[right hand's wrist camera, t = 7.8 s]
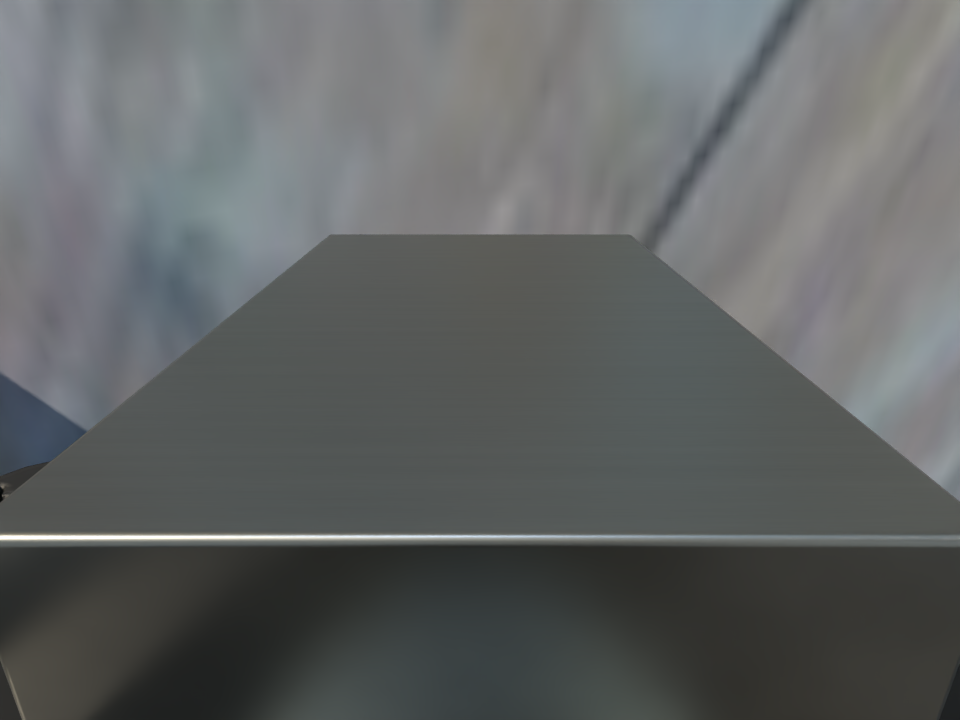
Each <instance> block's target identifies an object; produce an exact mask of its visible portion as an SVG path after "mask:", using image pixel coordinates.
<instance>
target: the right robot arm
mask: <svg viewBox="0 0 960 720" xmlns="http://www.w3.org/2000/svg"><path fill="white" fill-rule="evenodd" d="M50 462H51V461H50ZM48 463H49V462H46V463H41V464H37V465H32V466H28V467H24V468H21V469H19V470H16V471H13V472H11V473H8V474H5V475H3V476H0V502H1V501H3V500H4V499H5V498H6V497H8V496H9V495H10V494H11V493H13V492H14V491H15V490H16V489H17V488H19V487H20V486H21V485H22V484H24V483H25V482H26V481H27V480H29V479H30V478H31V477H32V476H33V475H35V474H36V473H37V472H38V471H40V470H41V469H42V468H43V467H45V466H46V465H47V464H48ZM0 720H22V718H21V716H20V713H19V710H18V708H17V705H16V702H15V699H14V697H13V694H12V691H11V688H10V686H9V683H8V680H7V678H6V675H5V672H4V669H3V667H2V664H1V661H0ZM939 720H960V664H959V667H958V670H957V672H956V675H955V678H954V680H953V683H952V686H951V689H950V691H949V694H948V697H947V699H946V702H945V705H944V708H943V710H942V713H941V716H940V718H939Z"/></svg>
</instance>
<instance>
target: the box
mask: <svg viewBox="0 0 960 720" xmlns="http://www.w3.org/2000/svg"><path fill="white" fill-rule="evenodd" d="M0 661H1V664H2V667H3V669H4V672H5V675H6V678H7V680H8V683H9V686H10V688H11V691H12V694H13V697H14V699H15V702H16V705H17V708H18V710H19V713H20V716H21V718H22V720H939V718H940V716H941V713H942V710H943V708H944V705H945V702H946V699H947V697H948V694H949V691H950V689H951V686H952V683H953V680H954V678H955V675H956V672H957V670H958V667H959V664H960V502H959V501H958V500H957V499H956V498H955V497H953V496H952V495H951V494H950V493H948V492H947V491H946V490H945V489H943V488H942V487H941V486H940V485H938V484H937V483H936V482H935V481H934V480H932V479H931V478H930V477H929V476H927V475H926V474H925V473H924V472H922V471H921V470H920V469H919V468H918V467H916V466H915V465H914V464H913V463H911V462H910V461H909V460H908V459H906V458H905V457H904V456H903V455H901V454H900V453H899V452H898V451H897V450H895V449H894V448H893V447H892V446H890V445H889V444H888V443H887V442H885V441H884V440H883V439H882V438H880V437H879V436H878V435H877V434H876V433H874V432H873V431H872V430H871V429H869V428H868V427H867V426H866V425H864V424H863V423H862V422H861V421H859V420H858V419H857V418H856V417H855V416H853V415H852V414H851V413H850V412H848V411H847V410H846V409H845V408H843V407H842V406H841V405H840V404H839V403H837V402H836V401H835V400H834V399H832V398H831V397H830V396H829V395H827V394H826V393H825V392H824V391H822V390H821V389H820V388H819V387H818V386H816V385H815V384H814V383H813V382H811V381H810V380H809V379H808V378H806V377H805V376H804V375H803V374H801V373H800V372H799V371H798V370H797V369H795V368H794V367H793V366H792V365H790V364H789V363H788V362H787V361H785V360H784V359H783V358H782V357H781V356H779V355H778V354H777V353H776V352H774V351H773V350H772V349H771V348H769V347H768V346H767V345H766V344H764V343H763V342H762V341H761V340H760V339H758V338H757V337H756V336H755V335H753V334H752V333H751V332H750V331H748V330H747V329H746V328H745V327H743V326H742V325H741V324H740V323H739V322H737V321H736V320H735V319H734V318H732V317H731V316H730V315H729V314H727V313H726V312H725V311H724V310H722V309H721V308H720V307H719V306H718V305H716V304H715V303H714V302H713V301H711V300H710V299H709V298H708V297H706V296H705V295H704V294H703V293H702V292H700V291H699V290H698V289H697V288H695V287H694V286H693V285H692V284H690V283H689V282H688V281H687V280H685V279H684V278H683V277H682V276H681V275H679V274H678V273H677V272H676V271H674V270H673V269H672V268H671V267H669V266H668V265H667V264H666V263H664V262H663V261H662V260H661V259H660V258H658V257H657V256H656V255H655V254H653V253H652V252H651V251H650V250H648V249H647V248H646V247H645V246H644V245H642V244H641V243H640V242H639V241H637V240H636V239H635V238H634V237H632V236H631V235H329V236H328V237H327V238H325V239H324V240H323V241H322V242H321V243H319V244H318V245H317V246H316V247H314V248H313V249H312V250H311V251H309V252H308V253H307V254H306V255H305V256H303V257H302V258H301V259H300V260H298V261H297V262H296V263H295V264H293V265H292V266H291V267H290V268H289V269H287V270H286V271H285V272H284V273H282V274H281V275H280V276H279V277H277V278H276V279H275V280H274V281H273V282H271V283H270V284H269V285H268V286H266V287H265V288H264V289H263V290H261V291H260V292H259V293H258V294H256V295H255V296H254V297H253V298H252V299H250V300H249V301H248V302H247V303H245V304H244V305H243V306H242V307H240V308H239V309H238V310H237V311H236V312H234V313H233V314H232V315H231V316H229V317H228V318H227V319H226V320H224V321H223V322H222V323H221V324H220V325H218V326H217V327H216V328H215V329H213V330H212V331H211V332H210V333H208V334H207V335H206V336H205V337H204V338H202V339H201V340H200V341H199V342H197V343H196V344H195V345H194V346H192V347H191V348H190V349H189V350H187V351H186V352H185V353H184V354H183V355H181V356H180V357H179V358H178V359H176V360H175V361H174V362H173V363H171V364H170V365H169V366H168V367H167V368H165V369H164V370H163V371H162V372H160V373H159V374H158V375H157V376H155V377H154V378H153V379H152V380H151V381H149V382H148V383H147V384H146V385H144V386H143V387H142V388H141V389H139V390H138V391H137V392H136V393H135V394H133V395H132V396H131V397H130V398H128V399H127V400H126V401H125V402H123V403H122V404H121V405H120V406H118V407H117V408H116V409H115V410H114V411H112V412H111V413H110V414H109V415H107V416H106V417H105V418H104V419H102V420H101V421H100V422H99V423H98V424H96V425H95V426H94V427H93V428H91V429H90V430H89V431H88V432H86V433H85V434H84V435H83V436H82V437H80V438H79V439H78V440H77V441H75V442H74V443H73V444H72V445H70V446H69V447H68V448H67V449H66V450H64V451H63V452H62V453H61V454H59V455H58V456H57V457H56V458H54V459H53V460H52V461H51V462H49V463H48V464H47V465H46V466H45V467H43V468H42V469H41V470H40V471H38V472H37V473H36V474H35V475H33V476H32V477H31V478H30V479H29V480H27V481H26V482H25V483H24V484H22V485H21V486H20V487H19V488H17V489H16V490H15V491H14V492H13V493H11V494H10V495H9V496H8V497H6V498H5V499H4V500H3V501H1V502H0Z"/></svg>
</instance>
